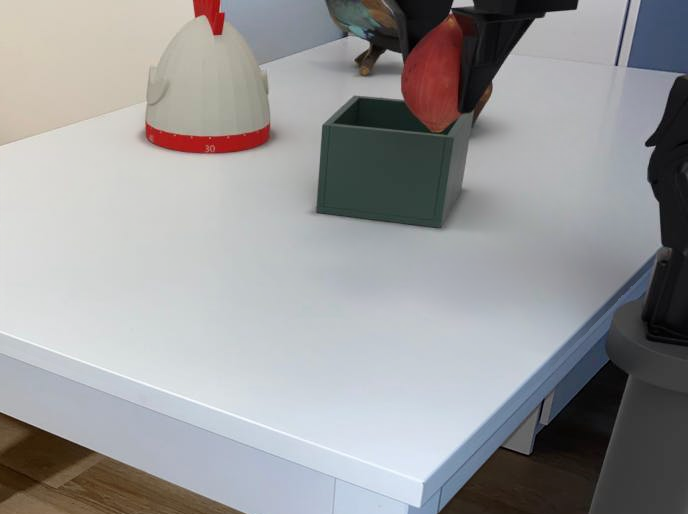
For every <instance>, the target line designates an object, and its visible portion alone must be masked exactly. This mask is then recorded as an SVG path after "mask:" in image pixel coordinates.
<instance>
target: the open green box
mask: <svg viewBox="0 0 688 514" xmlns="http://www.w3.org/2000/svg"><path fill="white" fill-rule="evenodd" d="M473 113H474V110H473V112H471V113H467V114H463V115H462V116H461V117H459V118H458V119H457V120H455V121H454V122H452V123H451V124H450V125H449V126H448V127H447V128H446V129H444V130H443V131H441V132H432V131H430V130H429V129H428V128H427V127H426V125H424V124H423V123H422V122H421V121H420V120H419V119H418V118H417V117H416V116H415V115H414V114H413V113H412V112H411V110H410V109H409V108H408V106H407V105H406V103H405V101H404V99H398V98H387V97H377V96H366V95H356V94H355V95H352V97H351V98H350V99H348V100H347V101H346V102H345V103H344V104H343V105H342V106H341V107H340V108H339V109H338V110H337V111H335V112H334V113H333V114H332V115H331V116H330V117H329V118H328V119H327V120H326V121H325V122H323V124H322V125H321V139H320V153H319V166H318V180H317V193H316V207H315V212H316V213H317V214H318V213H319V214H326V215H334V216H342V217H349V218H350V217H351V218H357V219H367V220H373V221H380V222H382V221H383V222H390V223H397V224H406V225H414V226H422V227H430V228H437V229H441V228H442V226H443V224H444V222H445V221H446V219H447V217H448V215H449V213H450V212H451V210H452V208H453V206H454V204H455V202H456V200H457V199H458V197H459V196H460V193H461V191H462V188H463V182H464V177H465V170H466V163H467V158H468V151H469V144H470V138H471V131H472V129H471V126H472V120H473Z"/></svg>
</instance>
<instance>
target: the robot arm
mask: <svg viewBox="0 0 688 514" xmlns="http://www.w3.org/2000/svg"><path fill="white" fill-rule="evenodd" d="M454 1H455V0H383V3H384V4H385V5H387V7H388V8H389V9H390V10H391V11H392V13H393V14H394V17H395V21H396V25H397V30H398V34H399V40H400V44H401V45H400V46H401V52H402V54H401V56H402V63H403V65H404V64H405V62H406V60H407V57H408V56H409V54H410V53H411V51H412V50H413V48H414V47H415V46H416V45H417V44H418V43H419V41H420V40H421V39H422V38H423V37H424V36H425V35H426V34H427V33H429V32H430V31H431V30H432V29H434V28H436V27H437V26H438V25H439V24H440V23H441V22H442V21H444V20H445V19H446V18H447V17H448V16H449V14H451V13H453V15H454V17H455V19H456V21H457V22H458V24H459V26H460V28H461V30H462V32H463V42H462V52H461V63H460V73H459V84H458V113H460V114H467V113H471V112H473V110H474V109H475V107H476V106H477V104H478V102H479V101H480V99H481V98H482V96H483V94H484V93H485V91H486V90H487V88H488V87H489V85H490V83H491V82H492V83H493V80H494V79H495V77H496V75H497V74H498V72H499V71H500V70H501V68H502V66H503V65H504V63H505V62H506V60H507V59H508V57H509V55H510V54H511V53H512V51H513V50H514V49H515V47H516V45H517V44H518V43H519V42H520V41H521V39H522V38H523V37H524V35H525V34H526V32H527V31H528V29H529V28H530V27H531V26H532V24H533V23H534V22H535V20H536V19H543V18H545V17H546V14H547V13H555V12H567V11H576V10H578V6H579V1H580V0H472V3H473V5H471V6H470V5H469V6H456V7H453V4H454ZM644 146H645V148H651V147H654V148H653V150H652V152H651V154H650V157H649V159H648V160H649V161H648V164H647V171H646V180H647V183H648V184H649V185H650V187H651V191H652V193H653V197H654V198H655V200H656V201H657V202H658V212H659V227H660V228H659V229H660V243H661V246H662V247H661V248H660V249H658V250H657V251H656V253H655V257H654V260H653V264H652V268H651V271H650V275H649V278H648V282H647V285H646V289H645V293H644V295H643V298H644V299H643V303H642V310H641V319H642V320H643V322H646V335H645V338H646V339H647V340H649V341H652V342H658V343H665V344H672V345H678V346H685V347H688V72H687V73H684V74H681V75H678V76H677V77H676V78H675V79H674V81H673V84H672V86H671V88H670V90H669V93H668V96H667V100H666V104H665V108H664V111H663V114H662V117H661V120H660V122H659V124H657V127H656V129H655V130H654V132H653V133H652V134H651V135H650V136H649V137H648V138H647V140H646V141H644Z"/></svg>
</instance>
